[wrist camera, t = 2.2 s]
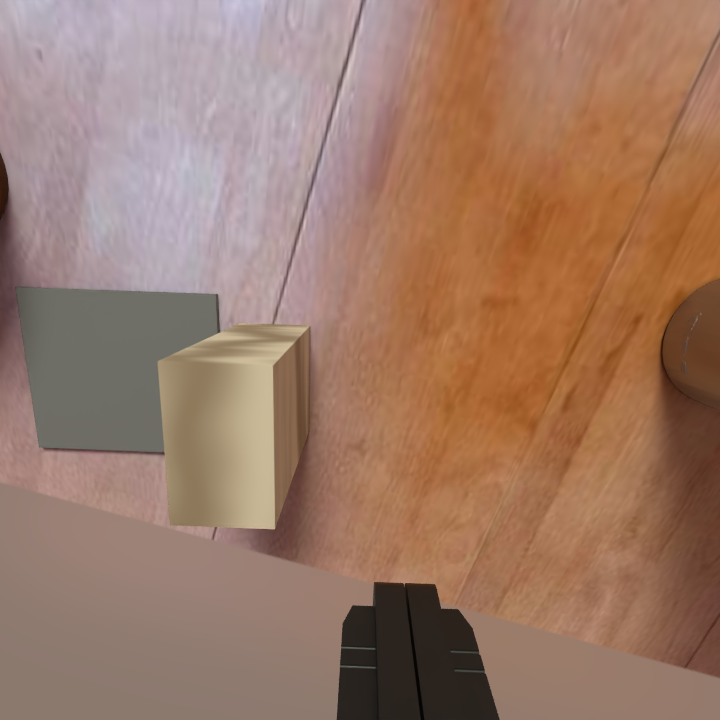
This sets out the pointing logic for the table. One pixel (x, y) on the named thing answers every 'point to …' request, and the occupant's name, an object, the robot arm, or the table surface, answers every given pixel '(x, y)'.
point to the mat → (105, 361)
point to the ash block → (235, 424)
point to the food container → (3, 186)
